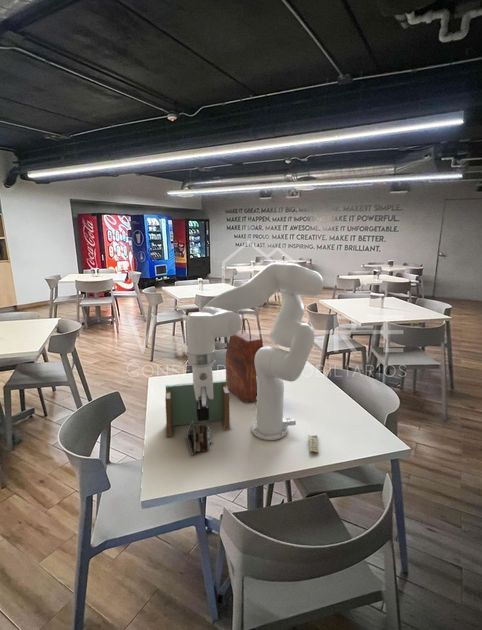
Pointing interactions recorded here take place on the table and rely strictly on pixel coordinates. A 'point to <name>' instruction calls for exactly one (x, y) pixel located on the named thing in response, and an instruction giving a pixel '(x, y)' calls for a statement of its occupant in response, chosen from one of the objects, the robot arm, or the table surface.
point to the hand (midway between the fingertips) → (202, 417)
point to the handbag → (242, 364)
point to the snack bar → (313, 443)
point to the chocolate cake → (198, 438)
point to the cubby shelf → (195, 405)
